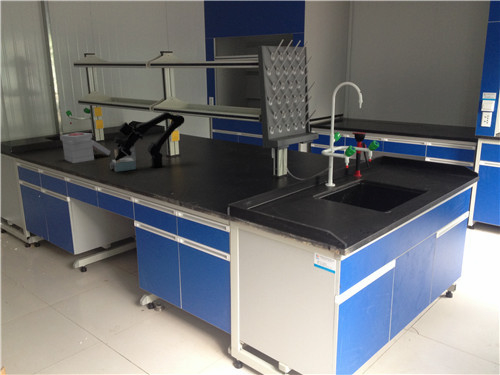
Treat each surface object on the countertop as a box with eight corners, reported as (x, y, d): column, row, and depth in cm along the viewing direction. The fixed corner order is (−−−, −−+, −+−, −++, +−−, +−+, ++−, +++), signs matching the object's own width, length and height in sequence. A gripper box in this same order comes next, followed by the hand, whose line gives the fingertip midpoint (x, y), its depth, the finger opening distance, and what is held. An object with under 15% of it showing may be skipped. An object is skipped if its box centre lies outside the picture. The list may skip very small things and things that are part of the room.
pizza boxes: (112, 157, 312) (109, 132, 307) (71, 164, 292) (67, 137, 287) (101, 153, 325) (98, 129, 320) (60, 159, 306) (57, 134, 301)
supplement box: (120, 162, 295) (118, 144, 291) (128, 160, 301) (126, 142, 297) (128, 163, 291) (127, 145, 288) (136, 161, 298) (134, 143, 294)
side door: (136, 168, 276) (134, 147, 272) (137, 169, 274) (135, 147, 270) (115, 170, 270) (113, 149, 267) (116, 171, 268) (114, 150, 264)
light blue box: (131, 165, 284) (130, 157, 283) (135, 169, 276) (134, 160, 274) (109, 168, 278) (108, 160, 276) (112, 171, 270) (111, 163, 268)
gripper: (117, 130, 273) (102, 149, 271) (124, 134, 257) (107, 154, 255) (131, 141, 279) (116, 160, 277) (138, 146, 263) (122, 166, 261)
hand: (115, 160), depth 267 cm, fingers closed on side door, 2 cm apart
